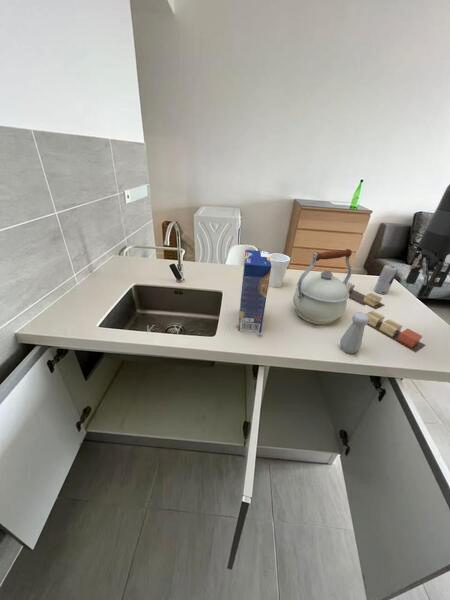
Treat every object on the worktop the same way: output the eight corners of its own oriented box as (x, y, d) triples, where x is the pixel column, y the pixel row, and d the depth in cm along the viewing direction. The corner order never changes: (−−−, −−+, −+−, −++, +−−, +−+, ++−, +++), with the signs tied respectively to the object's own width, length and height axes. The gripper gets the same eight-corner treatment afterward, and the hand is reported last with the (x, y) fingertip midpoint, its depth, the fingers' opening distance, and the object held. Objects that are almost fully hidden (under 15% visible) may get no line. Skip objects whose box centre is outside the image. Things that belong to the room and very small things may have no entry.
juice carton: (260, 333, 80) (271, 266, 68) (238, 331, 81) (244, 264, 68) (259, 312, 91) (268, 251, 78) (239, 311, 91) (245, 249, 78)
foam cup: (262, 279, 115) (266, 252, 108) (282, 279, 115) (287, 253, 108) (265, 288, 107) (270, 261, 100) (286, 289, 107) (292, 262, 100)
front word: (366, 315, 92) (370, 307, 90) (424, 347, 78) (430, 337, 76) (355, 320, 89) (359, 312, 87) (414, 354, 75) (420, 345, 73)
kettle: (306, 334, 81) (327, 265, 68) (277, 305, 95) (289, 244, 82) (362, 320, 89) (389, 257, 76) (327, 296, 104) (345, 239, 91)
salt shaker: (335, 342, 78) (347, 308, 71) (353, 343, 78) (367, 309, 71) (342, 355, 73) (356, 320, 66) (361, 356, 73) (377, 321, 66)
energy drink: (389, 292, 109) (400, 268, 103) (383, 295, 107) (394, 270, 100) (377, 287, 113) (387, 263, 107) (371, 290, 110) (381, 266, 104)
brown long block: (341, 285, 113) (344, 278, 111) (384, 306, 99) (388, 298, 97) (332, 289, 109) (334, 281, 108) (375, 311, 95) (378, 303, 93)
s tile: (403, 335, 82) (407, 328, 80) (418, 343, 79) (422, 336, 77) (396, 339, 80) (400, 332, 78) (411, 347, 76) (416, 340, 75)
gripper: (482, 241, 51) (443, 306, 59) (449, 224, 62) (420, 280, 71) (441, 237, 52) (408, 301, 61) (416, 221, 64) (391, 277, 73)
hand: (415, 290), depth 66 cm, fingers open, 8 cm apart
